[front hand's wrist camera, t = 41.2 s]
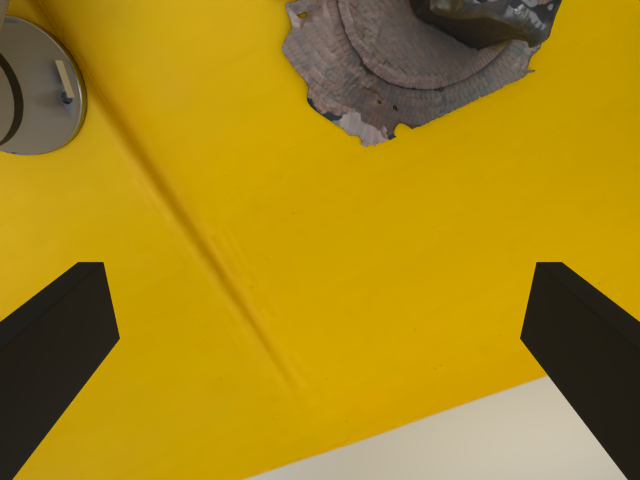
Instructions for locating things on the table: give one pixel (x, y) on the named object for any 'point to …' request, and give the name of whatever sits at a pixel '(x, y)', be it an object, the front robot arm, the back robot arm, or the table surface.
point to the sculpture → (410, 56)
